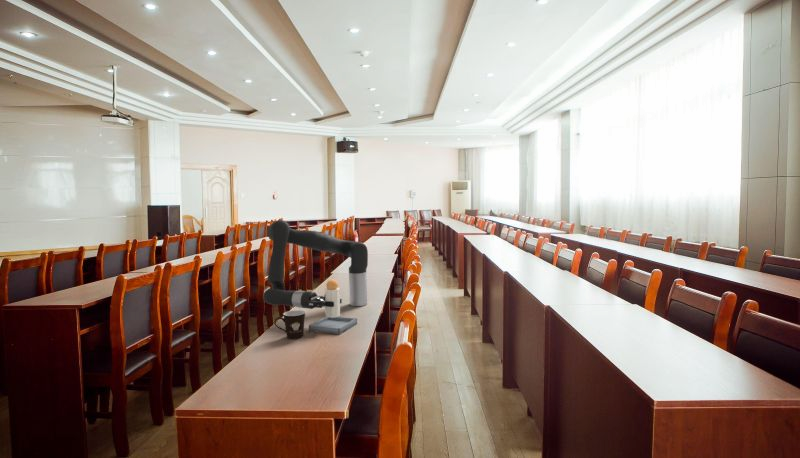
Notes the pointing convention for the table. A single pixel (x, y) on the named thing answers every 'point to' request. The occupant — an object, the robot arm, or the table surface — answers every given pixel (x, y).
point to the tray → (333, 325)
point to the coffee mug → (293, 324)
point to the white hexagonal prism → (333, 297)
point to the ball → (332, 284)
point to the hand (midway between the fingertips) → (337, 302)
